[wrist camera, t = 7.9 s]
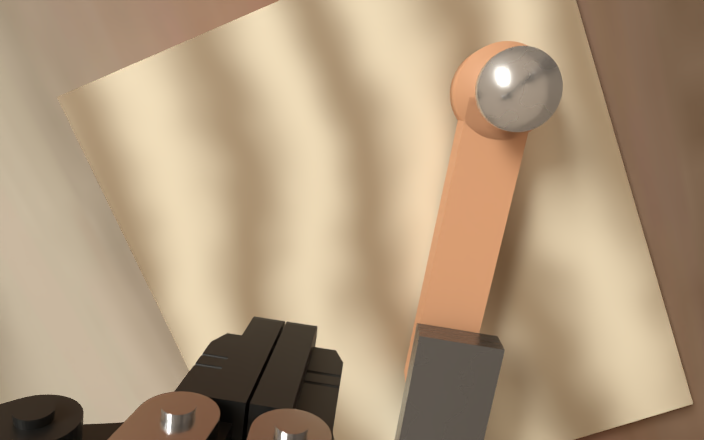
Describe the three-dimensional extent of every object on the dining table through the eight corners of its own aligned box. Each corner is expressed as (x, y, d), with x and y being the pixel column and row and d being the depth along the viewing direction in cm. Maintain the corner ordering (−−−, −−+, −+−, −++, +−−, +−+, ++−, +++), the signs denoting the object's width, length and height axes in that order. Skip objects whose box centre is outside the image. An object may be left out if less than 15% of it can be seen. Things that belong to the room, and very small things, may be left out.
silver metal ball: (530, 40, 23) (548, 32, 21) (552, 113, 24) (573, 114, 21) (456, 69, 24) (466, 65, 21) (480, 140, 24) (492, 144, 22)
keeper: (413, 300, 29) (419, 336, 24) (485, 312, 29) (504, 349, 24) (387, 437, 31) (388, 492, 26) (455, 448, 30) (468, 505, 26)
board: (536, -106, 25) (543, -114, 24) (682, 394, 30) (693, 403, 29) (67, 97, 28) (56, 97, 27) (270, 519, 33) (267, 531, 32)
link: (460, 38, 25) (467, 33, 23) (550, 54, 25) (564, 50, 23) (391, 368, 29) (392, 387, 27) (469, 382, 29) (476, 402, 27)
